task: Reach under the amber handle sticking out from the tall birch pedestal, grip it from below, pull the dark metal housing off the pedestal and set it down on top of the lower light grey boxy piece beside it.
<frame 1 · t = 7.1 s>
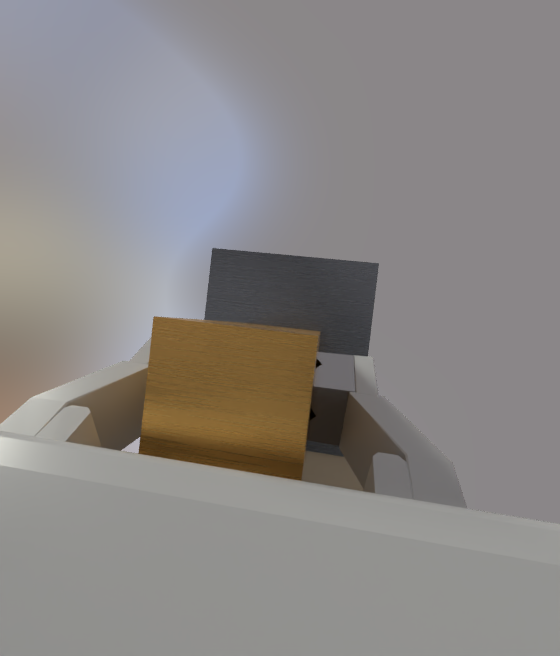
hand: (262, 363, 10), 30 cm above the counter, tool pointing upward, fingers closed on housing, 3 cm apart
housing: (281, 422, 18), point 26 cm above the counter, touching gripper, tall pedestal
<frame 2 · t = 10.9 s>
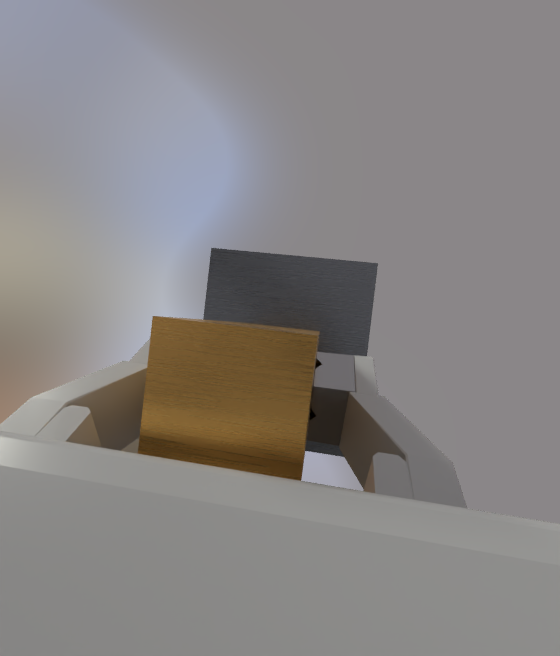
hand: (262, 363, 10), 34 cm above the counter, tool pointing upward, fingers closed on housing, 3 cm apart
housing: (280, 422, 18), point 30 cm above the counter, touching gripper
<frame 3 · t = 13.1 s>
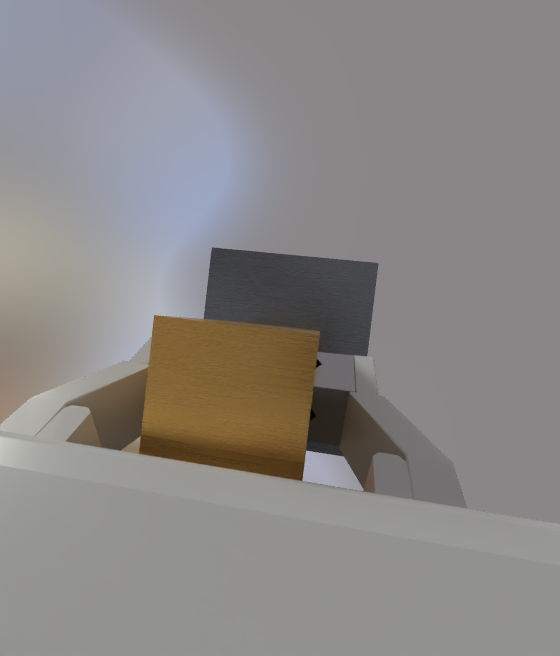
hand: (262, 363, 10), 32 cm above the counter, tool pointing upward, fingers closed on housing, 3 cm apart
housing: (280, 422, 18), point 28 cm above the counter, touching gripper
when the fingers open (25 cm above the counter, at t = 14.8 s): housing drops 1 cm, resting on light grey boxy piece.
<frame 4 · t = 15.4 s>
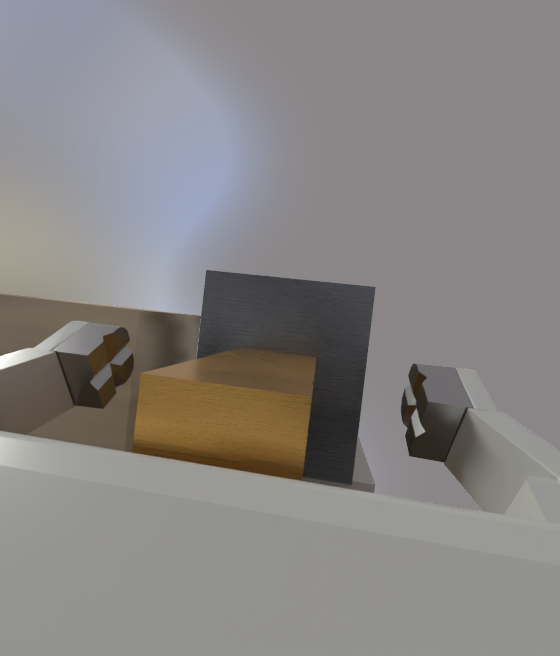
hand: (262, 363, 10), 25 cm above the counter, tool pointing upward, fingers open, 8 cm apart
housing: (276, 443, 18), point 20 cm above the counter, touching light grey boxy piece
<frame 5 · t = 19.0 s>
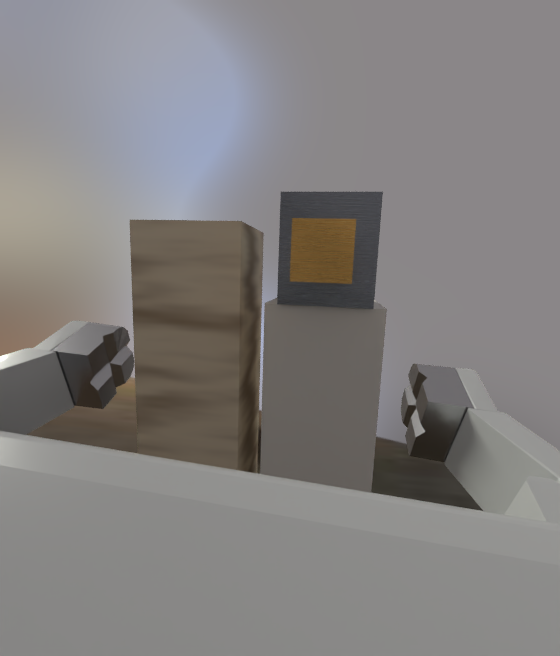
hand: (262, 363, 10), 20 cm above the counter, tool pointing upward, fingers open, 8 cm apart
light grey boxy piece: (314, 512, 33), on the counter
housing: (325, 302, 29), point 20 cm above the counter, touching light grey boxy piece
tall pedestal: (203, 496, 35), on the counter
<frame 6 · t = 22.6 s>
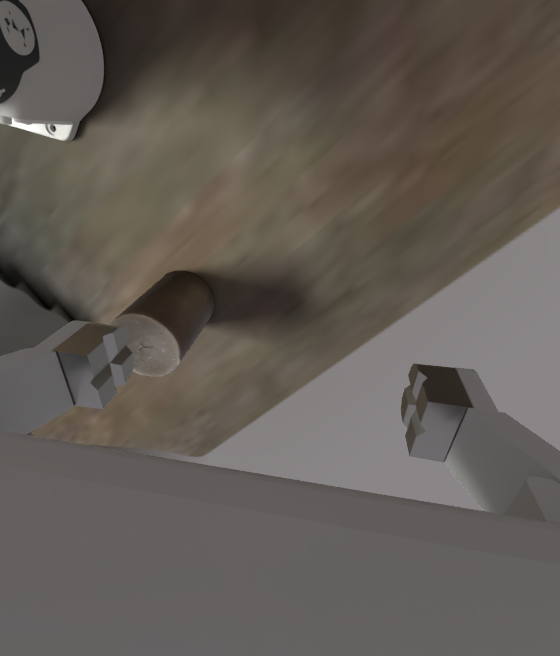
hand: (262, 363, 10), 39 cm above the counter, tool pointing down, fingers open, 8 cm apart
pillar candle: (186, 299, 56), on the counter
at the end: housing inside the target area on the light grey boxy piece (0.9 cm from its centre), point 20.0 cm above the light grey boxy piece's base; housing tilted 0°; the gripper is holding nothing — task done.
